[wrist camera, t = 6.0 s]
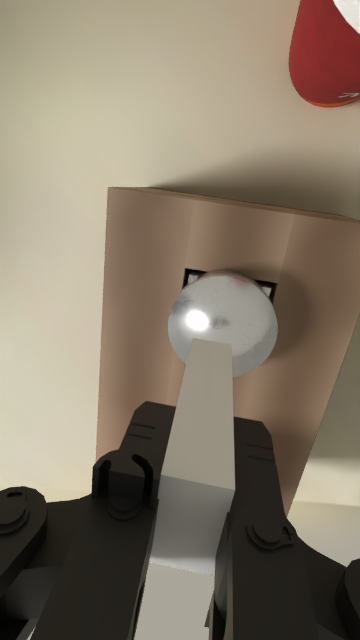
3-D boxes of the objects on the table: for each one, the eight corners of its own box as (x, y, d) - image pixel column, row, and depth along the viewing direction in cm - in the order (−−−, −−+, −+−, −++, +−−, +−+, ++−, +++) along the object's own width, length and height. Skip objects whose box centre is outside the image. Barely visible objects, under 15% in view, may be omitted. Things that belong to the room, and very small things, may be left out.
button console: (125, 426, 33) (94, 495, 26) (145, 187, 25) (107, 187, 17) (268, 456, 32) (279, 538, 24) (341, 215, 23) (390, 228, 16)
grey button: (181, 318, 26) (162, 367, 19) (192, 244, 24) (174, 268, 17) (255, 331, 25) (263, 386, 18) (273, 257, 23) (290, 287, 16)
